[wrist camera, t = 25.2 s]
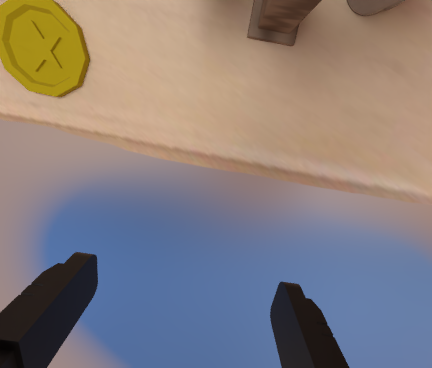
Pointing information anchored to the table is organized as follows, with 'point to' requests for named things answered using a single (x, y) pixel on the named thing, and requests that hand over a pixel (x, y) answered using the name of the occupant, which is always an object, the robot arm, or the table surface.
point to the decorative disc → (42, 46)
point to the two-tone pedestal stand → (278, 19)
